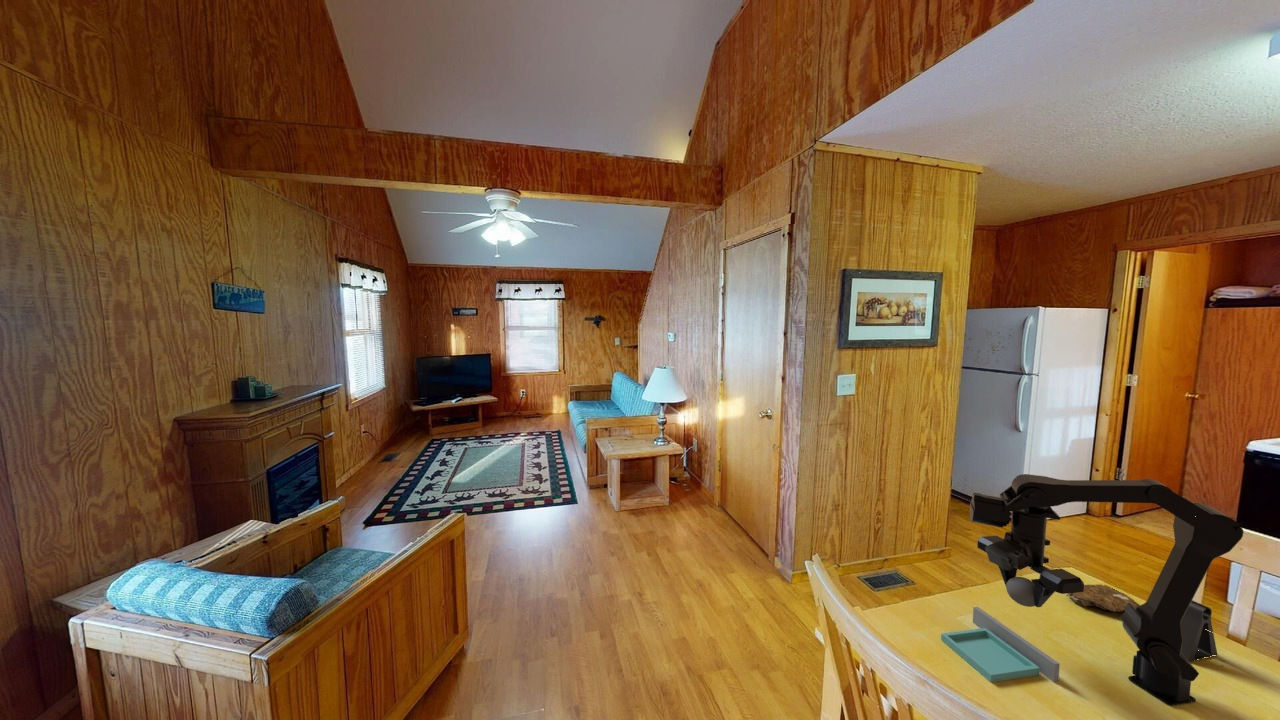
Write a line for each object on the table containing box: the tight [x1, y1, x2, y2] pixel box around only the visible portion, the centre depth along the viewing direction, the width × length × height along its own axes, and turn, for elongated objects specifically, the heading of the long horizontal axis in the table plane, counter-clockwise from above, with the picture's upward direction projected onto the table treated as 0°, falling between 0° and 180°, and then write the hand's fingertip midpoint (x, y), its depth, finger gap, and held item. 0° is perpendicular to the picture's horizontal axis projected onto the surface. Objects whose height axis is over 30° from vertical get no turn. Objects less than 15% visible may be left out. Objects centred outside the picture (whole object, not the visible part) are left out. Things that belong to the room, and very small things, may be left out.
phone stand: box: [1181, 599, 1218, 663], centre depth 94 cm, size 9×6×12 cm, turn 100°
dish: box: [940, 627, 1040, 683], centre depth 93 cm, size 12×12×2 cm
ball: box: [1005, 576, 1036, 608], centre depth 94 cm, size 6×6×6 cm
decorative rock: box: [1065, 583, 1141, 613], centre depth 110 cm, size 11×4×15 cm
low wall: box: [972, 606, 1061, 683], centre depth 95 cm, size 18×1×4 cm, turn 8°
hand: (1023, 597), depth 94 cm, fingers closed on ball, 6 cm apart
